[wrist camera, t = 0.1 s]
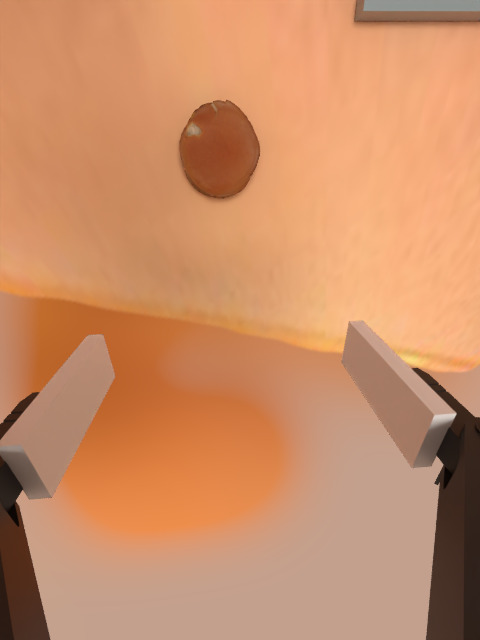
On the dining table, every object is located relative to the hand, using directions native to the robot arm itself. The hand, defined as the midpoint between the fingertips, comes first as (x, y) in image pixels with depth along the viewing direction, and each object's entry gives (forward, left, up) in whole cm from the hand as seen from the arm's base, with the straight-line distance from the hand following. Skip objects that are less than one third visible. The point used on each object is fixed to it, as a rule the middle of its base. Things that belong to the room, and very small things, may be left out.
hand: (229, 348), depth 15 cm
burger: (-11, 0, -28) cm, 30 cm away
